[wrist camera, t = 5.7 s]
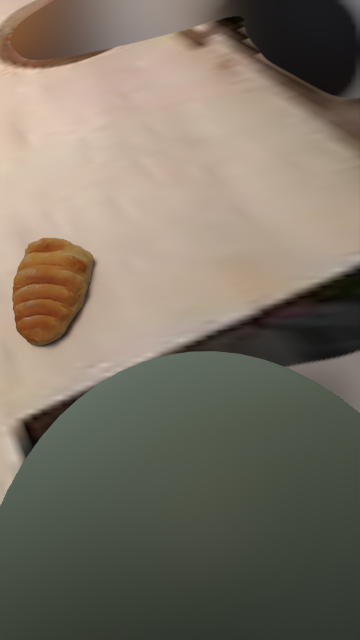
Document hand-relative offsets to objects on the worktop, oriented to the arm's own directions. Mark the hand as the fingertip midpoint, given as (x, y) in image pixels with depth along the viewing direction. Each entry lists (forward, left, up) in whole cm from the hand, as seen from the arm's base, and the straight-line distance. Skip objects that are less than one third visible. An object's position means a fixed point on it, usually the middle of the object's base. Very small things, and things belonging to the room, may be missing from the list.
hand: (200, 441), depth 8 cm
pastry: (+18, +6, -14) cm, 23 cm away
